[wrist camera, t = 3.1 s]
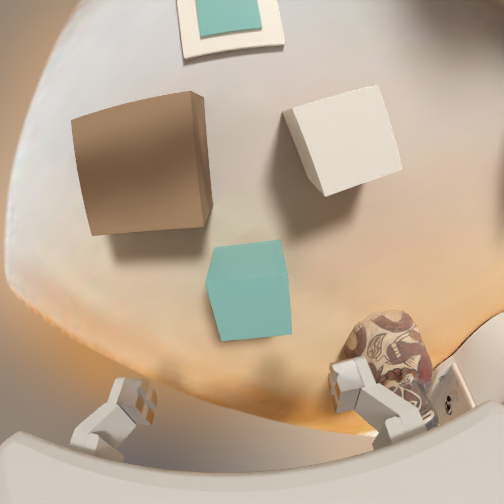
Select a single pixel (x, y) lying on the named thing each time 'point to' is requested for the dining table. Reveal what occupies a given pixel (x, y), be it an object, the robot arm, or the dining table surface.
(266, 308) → the teal cube
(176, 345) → the dining table surface
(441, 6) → the dining table surface
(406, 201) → the dining table surface
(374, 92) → the cream cube
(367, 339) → the figurine
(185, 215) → the walnut base
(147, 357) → the dining table surface
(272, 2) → the tile
